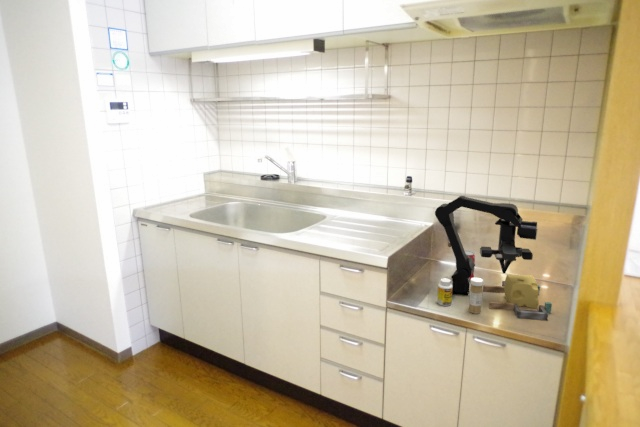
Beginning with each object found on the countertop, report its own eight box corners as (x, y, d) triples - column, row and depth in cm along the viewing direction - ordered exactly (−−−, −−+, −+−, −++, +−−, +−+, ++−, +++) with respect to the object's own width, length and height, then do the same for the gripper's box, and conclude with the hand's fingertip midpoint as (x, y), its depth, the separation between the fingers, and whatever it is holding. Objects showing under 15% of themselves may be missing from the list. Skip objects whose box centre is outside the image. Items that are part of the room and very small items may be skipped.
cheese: (537, 308, 165) (540, 285, 163) (508, 306, 167) (510, 283, 165) (530, 297, 175) (533, 274, 173) (503, 295, 177) (505, 273, 175)
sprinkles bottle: (478, 308, 166) (480, 276, 163) (482, 314, 162) (485, 281, 158) (466, 308, 166) (468, 276, 163) (470, 314, 162) (473, 281, 159)
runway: (492, 315, 160) (492, 306, 159) (480, 284, 188) (481, 276, 187) (555, 321, 155) (556, 311, 154) (534, 288, 183) (535, 279, 182)
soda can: (475, 282, 191) (477, 255, 188) (459, 282, 191) (461, 255, 188) (470, 276, 198) (472, 249, 194) (455, 276, 198) (456, 250, 195)
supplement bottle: (443, 307, 167) (444, 283, 165) (434, 302, 172) (435, 278, 170) (454, 304, 170) (456, 281, 167) (445, 299, 175) (446, 276, 172)
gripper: (484, 241, 161) (481, 279, 164) (538, 243, 156) (533, 282, 160) (481, 232, 171) (478, 268, 175) (530, 234, 167) (527, 271, 171)
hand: (503, 273), depth 170 cm, fingers closed
